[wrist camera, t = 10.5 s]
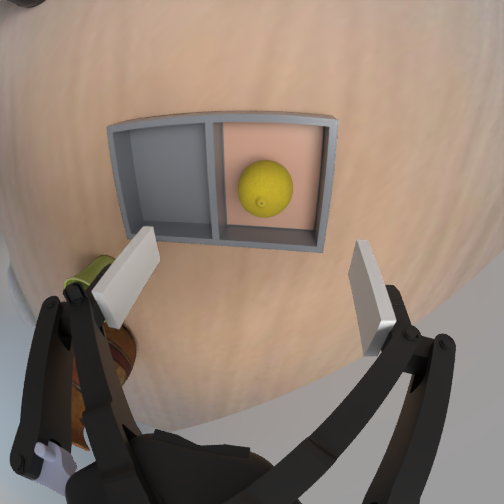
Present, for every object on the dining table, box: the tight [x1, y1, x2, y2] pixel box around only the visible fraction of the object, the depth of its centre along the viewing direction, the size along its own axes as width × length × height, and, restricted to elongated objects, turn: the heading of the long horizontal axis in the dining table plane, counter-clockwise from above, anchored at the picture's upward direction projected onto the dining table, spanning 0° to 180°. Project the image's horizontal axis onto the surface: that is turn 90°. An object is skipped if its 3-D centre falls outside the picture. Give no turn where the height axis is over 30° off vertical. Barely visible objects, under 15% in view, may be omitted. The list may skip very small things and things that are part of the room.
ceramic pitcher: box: [71, 322, 136, 451], centre depth 42 cm, size 20×20×30 cm
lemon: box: [238, 160, 293, 218], centre depth 27 cm, size 6×6×8 cm
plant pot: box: [64, 255, 115, 322], centre depth 40 cm, size 9×9×9 cm
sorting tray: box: [107, 111, 338, 253], centre depth 30 cm, size 15×25×4 cm, turn 90°
